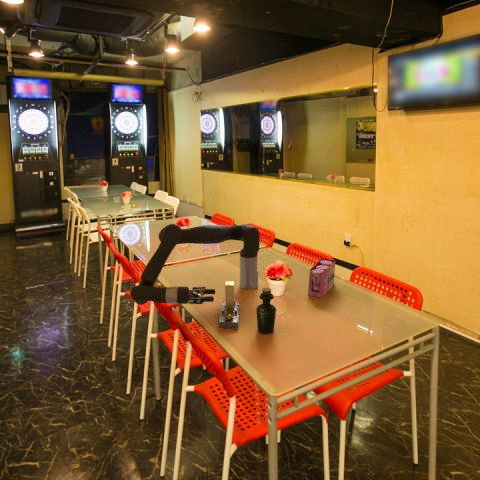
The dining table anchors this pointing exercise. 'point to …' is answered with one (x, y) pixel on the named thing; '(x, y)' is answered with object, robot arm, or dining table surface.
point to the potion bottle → (266, 312)
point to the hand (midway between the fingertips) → (214, 295)
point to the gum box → (321, 277)
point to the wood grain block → (229, 297)
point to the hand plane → (229, 317)
